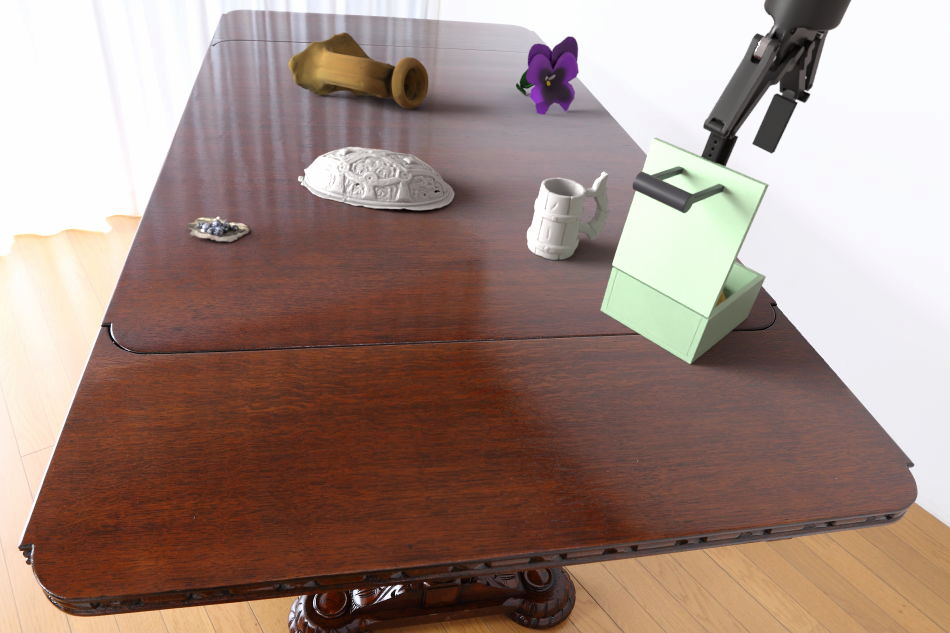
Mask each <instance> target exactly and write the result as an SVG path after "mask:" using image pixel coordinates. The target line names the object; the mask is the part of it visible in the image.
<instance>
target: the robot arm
mask: <svg viewBox="0 0 950 633" xmlns="http://www.w3.org/2000/svg"><path fill="white" fill-rule="evenodd" d="M851 2H852V0H764V3H763V8H764V11H765V13H766V14H767V15H768V16H770V17H771V18H772V21H773V25H772V26H771V28H770V30H769V32H767V33H766V34H765V35H763V34H760V33H755V34H754V36H753V37H752V39H751V41H750V43H749V45H748V47H747V50H746V51H745V54H744V56H743V58H742V60H741V61H740V63H739V65H738V66H737V68H736V70H735V71H734V73H733V74H732V76H731V78H730V79H729V81H728V83H727V85H726V86H725V88H724V90H723V91H722V93H721V95H720V96H719V98H718V100H717V101H716V103H715V104H714V106H713V108H712V110H711V111H710V113H709V115H708V117H707V118H705V120H704V122H703V126H702V129H704V130H706V131H708V132H710V133H709V136H708V138H707V141H706V142H705V146H704V148H703V150H702V153H701V155H700V156H701V157H703V158H705V159H707V160H709V161H711V162H714V163H718V164H720V165H723V166H725V167H727V164H728V162H729V159H730V157H731V155H732V153H733V150H734V148H735V146H736V143H737V141H738V138H739V136H738V135H736V134H737V133H738V132H739V130H740V129H741V128H742V126H743V125H744V123H745V122H746V121H747V119H748V118H749V117H750V115H751V113H752V112H753V111H754V109H755V108H756V106H757V105H758V104H759V103H760V101H761V100H762V99H763V97H764V95H765V94H766V93H767V91H768V90H769V88H770V87H772V86H776V85H778V84H779V93H775V94H774V95H772V98H771V101H770V103H769V106H768V107H767V110H766V112H765V114H764V116H763V119H762V121H761V123H760V125H759V128H758V130H757V132H756V134H755V137H754V139H753V141H752V143H751V145H753V146H755V147H757V148H759V149H762V151H763V150H764V151H766V152H767V153H769V154H771V155H772V154H774V153H775V152H776V150H777V147H778V145H779V143H780V141H781V139H782V138H783V135H784V133H785V130H786V128H787V126H788V124H789V122H790V121H791V118H792V117H793V114H794V112H795V109H796V108H797V106H798V103H799V102H800V103H803V104H806V103H807V102H808V101H809V98H810V97H811V93H810V92H809V91H810V90H811V89H812V88H813V87H814V82H815V77H816V76H817V71H818V68H819V65H820V60H821V57H822V53H823V50H824V47H825V43H826V38H827V36H828V33H829V31H833V30H835V29H836V28H838V27H839V26H840V24H841V23H842V20H843V19H844V17H845V14H846V13H847V11H848V8H849V6H850V4H851ZM798 101H799V102H798Z"/></svg>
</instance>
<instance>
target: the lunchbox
mask: <svg viewBox="0 0 950 633" xmlns="http://www.w3.org/2000/svg"><path fill="white" fill-rule="evenodd" d="M611 268H612V269H611V272H610V276H609V279H608V283H607V286H606V289H605V293H604V296H603V299H602V303H601V307H600V312H602V313H604V314H606V315H607V316H609V317H610V318H612V319H614V320H616V321H617V322H619V323H620V324H623V325H624V326H626V327H627V328H629V329H631V330H632V331H634V332H635V333H637V334H639V335H640V336H642V337H644V338H645V339H647V340H649V341H650V342H652V343H654V344H655V345H657V346H659V347H661V348H662V349H664V350H666V351H667V352H669V353H671V354H672V355H674V356H675V357H677V358H679V359H681V360H682V361H684V362H685V363H687V364H689V365H692V364H693V363H694V362H695V361H696V360H698V359H699V358H700V357H701V356H702V355H703V354H705V353H706V352H707V351H709V350H710V349H711V348H713V346H715V345H716V344H717V343H718V342H720V341H721V340H722V339H723V338H725V337H726V336H727V335H728V334H729V333H731V332H732V331H733V330H734V329H736V328H737V327H738V326H739V325H740V324H742V323H743V322H744V321H746V320H747V319H748V317H749V315H750V313H751V310H752V309H753V306H754V304H755V302H756V300H757V298H758V295H759V292H760V290H761V289H762V286H763V284H764V282H765V279H766V275H765V274H761V273H760V272H758V271H756V270H755V269H753V268H750V267H748V266H746V265H743V264H741V263H740V262H738V261H737V260H736V261H735V263H734V265H733V267H732V270H731V272H730V274H729V277H728V279H727V281H726V283H725V286H724V288H723V292H724V295H725V297H726V300H725V301H723V302H722V303H721V304H719V305H718V306H717V307H715V308H714V311H713V313H712V315H711V316H710V317H709V318H707V317H705V316H704V315H702V314H700V313H698V312H696V311H695V310H693V309H691V308H689V307H687V306H686V305H684V304H682V303H680V302H678V301H676V300H675V299H673V298H671V297H669V296H667V295H666V294H664V293H662V292H660V291H658V290H657V289H655V288H653V287H651V286H649V285H647V284H646V283H644V282H642V281H640V280H638V279H637V278H635V277H633V276H631V275H629V274H628V273H626V272H624V271H622V270H620V269H618V268H617V267H615V266H613V267H611Z"/></svg>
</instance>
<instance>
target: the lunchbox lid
mask: <svg viewBox="0 0 950 633" xmlns="http://www.w3.org/2000/svg"><path fill="white" fill-rule="evenodd" d="M701 156H702V155H699V154H696V153H694V152H692V151H689V150H687V149H684V148H682V147H679V146H678V145H675V144H672V143H670V142H669V141H666V140H664V139H661V138H658V137H654V138H652V140H651V143H650V146H649V149H648V153H647V156H646V159H645V161H644V165H643V168H642V171H640V172H638V173H637V174H636V176H635V178H634V179H633V182H632V189H633V190H634V191H635V193H634V195H633V198H632V202H631V204H630V208H629V211H628V214H627V218H626V221H625V223H624V227H623V229H622V233H621V235H620V239H619V242H618V245H617V248H616V251H615V254H614V257H613V261H612V266H613V267H614V266H615V267H617V268H618V269H620V270H622V271H624V272H626V273H628V274H629V275H631V276H633V277H635V278H637V279H638V280H640V281H642V282H644V283H646V284H647V285H649V286H651V287H653V288H655V289H657V290H658V291H660V292H662V293H664V294H666V295H667V296H669V297H671V298H673V299H675V300H676V301H678V302H680V303H682V304H684V305H686V306H687V307H689V308H691V309H693V310H695V311H696V312H698V313H700V314H702V315H704V316H705V317H707V318H709V317H710V316H711V315H712V313H713V311H714V308H715V306H716V304H717V302H718V299H719V297H720V295H721V293H722V290H723V288H724V286H725V283H726V281H727V279H728V277H729V274H730V272H731V270H732V267H733V265H734V263H735V261H736V262H737V258H738V257H739V253H740V252H741V249H742V248H743V245H744V243H745V240H746V238H747V235H748V233H749V231H750V229H751V227H752V224H753V222H754V219H755V217H756V215H757V213H758V210H759V208H760V206H761V204H762V201H763V199H764V197H765V194H766V192H767V190H768V187H769V186H770V185H769V184H768V183H766V182H763V181H761V180H759V179H756V178H754V177H751V176H749V175H747V174H744V173H742V172H739V171H738V170H735V169H732V168H729V167H728V166H726V167H725V166H723V165H720V164H718V163H714V162H711V161H709V160H707V159H705V158H703V157H701Z"/></svg>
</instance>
